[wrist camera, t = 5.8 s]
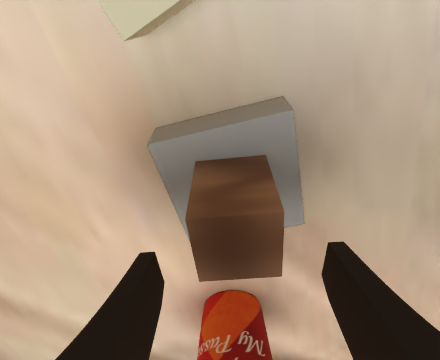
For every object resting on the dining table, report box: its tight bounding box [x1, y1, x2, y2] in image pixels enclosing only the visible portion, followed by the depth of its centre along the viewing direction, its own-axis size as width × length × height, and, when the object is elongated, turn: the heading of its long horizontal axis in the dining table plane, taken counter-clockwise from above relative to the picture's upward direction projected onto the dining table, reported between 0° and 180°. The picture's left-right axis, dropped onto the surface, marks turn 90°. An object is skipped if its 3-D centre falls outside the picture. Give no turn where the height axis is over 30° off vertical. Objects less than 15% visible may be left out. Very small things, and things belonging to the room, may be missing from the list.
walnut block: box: [185, 155, 284, 282], centre depth 14 cm, size 4×4×5 cm
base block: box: [147, 96, 305, 241], centre depth 17 cm, size 8×8×3 cm
